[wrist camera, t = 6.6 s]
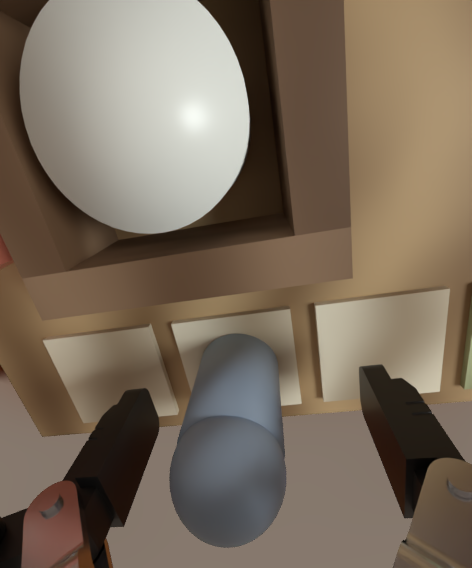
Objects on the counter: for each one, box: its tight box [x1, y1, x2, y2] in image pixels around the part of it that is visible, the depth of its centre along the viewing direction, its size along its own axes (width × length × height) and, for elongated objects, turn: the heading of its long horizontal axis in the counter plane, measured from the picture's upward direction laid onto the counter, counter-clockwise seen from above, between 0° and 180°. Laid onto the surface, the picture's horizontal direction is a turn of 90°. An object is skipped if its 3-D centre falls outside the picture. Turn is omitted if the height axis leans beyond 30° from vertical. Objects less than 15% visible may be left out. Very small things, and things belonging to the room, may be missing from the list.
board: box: [0, 0, 472, 437], centre depth 10 cm, size 28×18×4 cm, turn 100°
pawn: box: [170, 334, 286, 548], centre depth 10 cm, size 3×3×6 cm
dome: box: [20, 0, 251, 234], centre depth 8 cm, size 5×5×3 cm
